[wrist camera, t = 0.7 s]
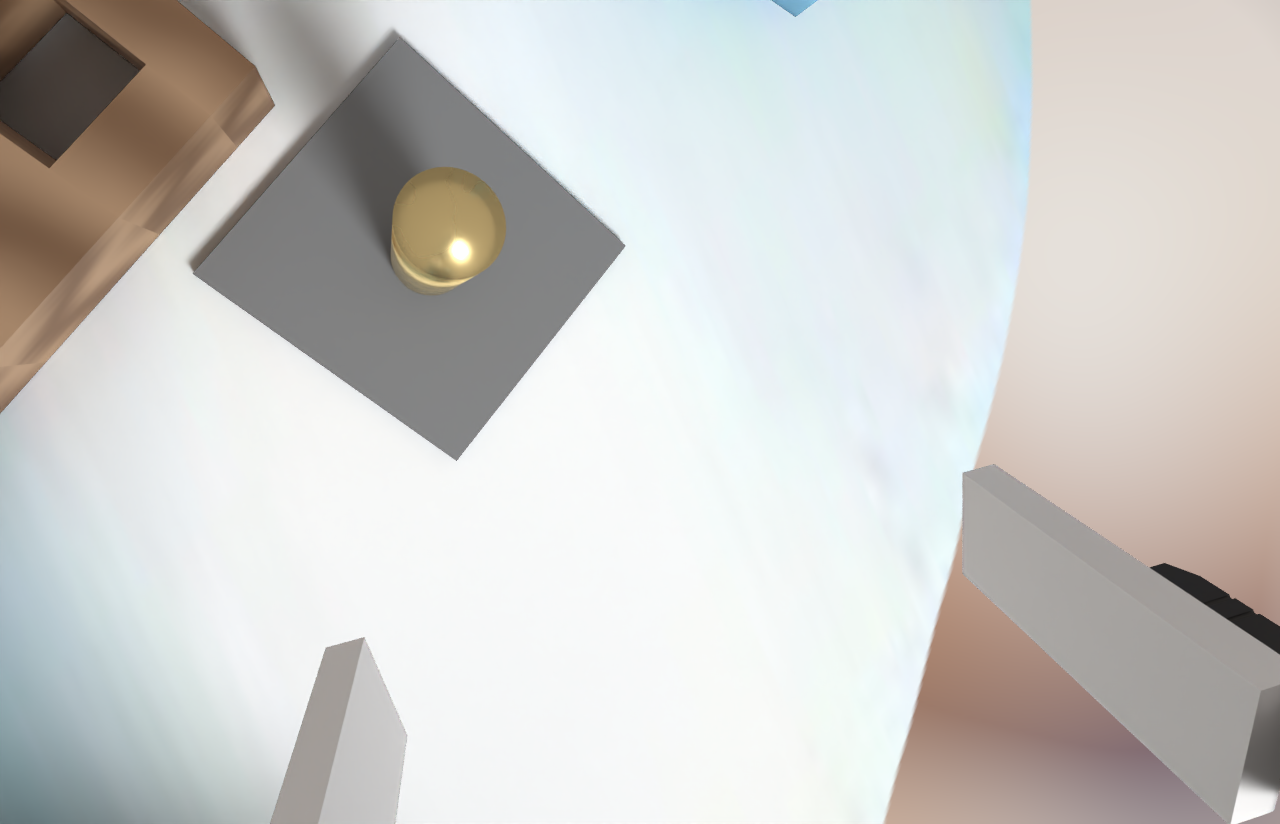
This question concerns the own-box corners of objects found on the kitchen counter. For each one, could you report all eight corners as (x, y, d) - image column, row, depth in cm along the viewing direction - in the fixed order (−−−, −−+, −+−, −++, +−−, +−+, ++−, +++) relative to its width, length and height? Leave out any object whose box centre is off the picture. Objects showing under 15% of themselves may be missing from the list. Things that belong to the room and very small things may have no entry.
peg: (436, 310, 34) (460, 302, 23) (374, 261, 33) (368, 227, 22) (481, 255, 34) (527, 220, 23) (422, 204, 33) (440, 142, 22)
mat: (455, 459, 36) (456, 460, 35) (195, 274, 31) (192, 273, 31) (622, 246, 37) (625, 245, 37) (399, 41, 33) (399, 37, 32)
